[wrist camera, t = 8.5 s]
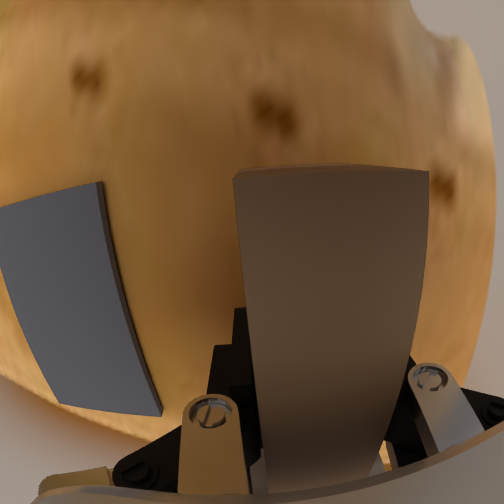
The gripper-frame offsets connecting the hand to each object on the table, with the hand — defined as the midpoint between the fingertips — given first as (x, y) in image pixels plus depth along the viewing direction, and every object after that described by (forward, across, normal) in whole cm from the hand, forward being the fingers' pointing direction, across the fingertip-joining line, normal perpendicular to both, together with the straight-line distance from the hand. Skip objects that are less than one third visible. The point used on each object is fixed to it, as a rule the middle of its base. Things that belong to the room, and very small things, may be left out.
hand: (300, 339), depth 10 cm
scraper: (0, 0, 0) cm, 0 cm away
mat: (+5, +13, +1) cm, 14 cm away
